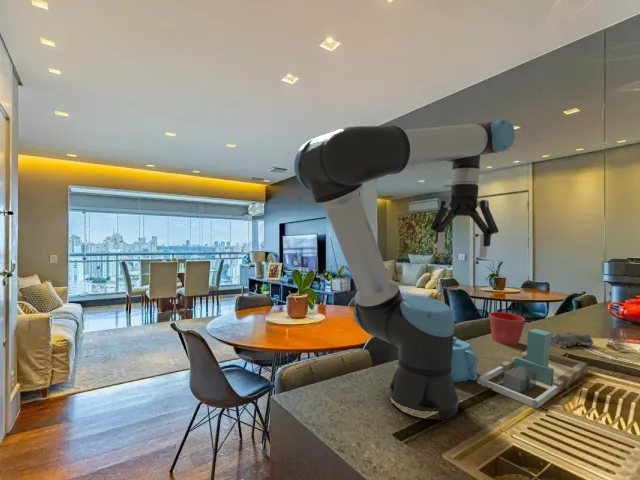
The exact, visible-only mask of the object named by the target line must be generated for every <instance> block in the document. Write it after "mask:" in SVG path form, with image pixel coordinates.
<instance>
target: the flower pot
mask: <svg viewBox="0 0 640 480" xmlns="http://www.w3.org/2000/svg"><path fill="white" fill-rule="evenodd" d="M488 314H489V322H490V332H491V340H492V341H493V342H496V343H498V344H499V343H500V344H502V345H507V346H508V345H509V346H515V345H516V346H517V345H519V342H520V338H521V336H522V333H523V329H524V326H525V322H526V319H525V318H524V317H523V316H520V315H517V314H514V313H509V312H500V311H499V312H493V311H492V312H490V313H488Z"/></svg>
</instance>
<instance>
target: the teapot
mask: <svg viewBox="0 0 640 480" xmlns="http://www.w3.org/2000/svg"><path fill="white" fill-rule="evenodd" d="M478 362H479V360H478V356H477V354H476V353H475V352H474V350H473V348H472V346H471V344H470V343H468V342H466V341H464V340H461V339H459V338H458V337H456V336H454V340H453V354H452V368H451V374H452V378H453V382H454V383H461V382H462V381H463V382H466V381H469V379H470V380H471V381H477V378H478V377H479V376H478V373H477V371H478V369H477V368H478V367H477V366H478Z"/></svg>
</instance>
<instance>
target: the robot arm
mask: <svg viewBox="0 0 640 480" xmlns="http://www.w3.org/2000/svg"><path fill="white" fill-rule="evenodd" d="M515 137H516V136H515V127H514V124H513V123H512V122H511V121H510V120H509V119H506V118H503V119H495V120H492V121H488V122H480V123H469V124H459V125H457V124H456V125H447V126H445V125H444V126H435V127H433V126H432V127H423V128H422V127H421V128H411V129H410V128H409V129H404V128H403V127H401V126H399V125H397V124H396V125H365V126H364V125H363V126H362V125H360V126H357V125H355V126H354V125H353V126H348V127H347V126H346V127H342V128H339V129H337V130H335V131H332V132H329V133H326V134H323V135H319V136H318V137H317V136H315V137H313V138H311V139H310V140H308V141H307V142H305V143H304V144H303V145H302V146H301V147H300V148H299V149H298V151H297V153H296V156H295V158H294V165H293V167H294V173H295V176H296V177H295V178H296V180H297V181H298V183H300V185H302V186H303V187H304V188H305V189H308V190H310V192H311V194H312V196H313V199H314V202H315V204H316V205H318V206H321V207H323V208H324V210H325V211H326V214H327V217H328V220H329V222H330V224H331V227H332V230H333V232H334V234H335V237H336V240H337V242H338V244H339V248H340V250H341V252H342V254H343V256H344V259H345V262H346V264H347V266H348V267H347V268H348V269H349V272H350V275H351V278H352V279H353V282H354V285H355V288H356V290H357V291H356V293H355V295H354V307H353V318H354V320H355V322H356V324H357V325H358V327H359V328H361V329H362V330H363V331H364V332H365V333H367V334H369V335H371V336H372V337H375V338H378V339H380V340H382V341H384V342H386V343H388V344H390V345H393V346H395V347H397V348H398V364H397V366H396V370H395V372H394V375H393V378H392V380H391V382H390V385H389V390H388V391H389V393H388V396H389V395H390V397H391V398H392V399H393V400H394V401H395V402H396V403H398V404H400V405H402V406H405V407H408V408H411V409H415V410H419V411H430V412H431V411H435V412H436V411H438V412H439V415H440V419H439V420H438V421H444V420H449V419H451V418H452V417H453V418H454V417H455V416H456V414H457V413H458V409H459V397H458V395H457V390H456V386H455V382H453V378H452V374H451V368H452V354H453V340H454V337H455V331H456V325H455V314H454V311H453V309H452V308H451V307H450V306H449V305H447V304H446V303H445V302H442V301H440V300H439V299H434V298H433V297H432V298H431V297H425V296H423V295H422V296H421V295H408V296H405V297H403V295H402V292H401V289H400V287H399V284H398V283H397V282H396V281H395V280H392V279H390V277H389V274H388V272H387V269H386V265H385V263H384V261H383V260H384V259H383V257H382V255H381V252H380V249H379V246H378V244H377V240H376V238H375V235H374V232H373V230H372V227H371V224H370V222H369V219H368V215H367V213H366V210H365V207H364V204H363V202H362V199H361V197H360V192H361V190H362V187H363V184H364V183H366V182H370V181H373V180H374V181H375V180H377V179H379V178H383V177H387V176H390V175H396V174H400V173H402V172H403V171H404V170H406V168H407V167H408V168H409V167H414V166H416V167H417V166H421V165H427V164H433V163H434V164H435V163H440V162H449V163H452V168H451V183H452V185H451V186H450V198H451V199H450V201H448V200H441V201H440V207H439V209H438V211H437V213H436V216H435V218H434V219H433V222H432V224H431V226H430V230H432V231H434V232H435V242H436V243H437V248H436V253H437V254H444V253H445V244H446V243H445V242H446V241H445V240H446V232H444V231H445V230H446V228H447V227H448V226H449V225H450V223H451V222H452V221H454V219H455V217H459V216H460V217H461V216H466V217H468V216H469V217H470V218H471V219H472V220H473V221H474V223H475V225H477V227H478V228H479V230H480V231H481V232H482V234H480V236H479V237H480V238H479V253H478V254H479V255H478V258H479V259H486V258H487V255H488V254H487V253H488V247H490V246H491V240H492V239H491V238H492V235H494V234H498V233H499V228H498V226H497V223H496V222H495V219H494V217H493V215H492V212H491V210H490V208H489V206H490V205H489V203H490V202H489V200H485V199H481V200H478V197H479V188H480V187H479V185H478V183H479V182H480V164H481V156H483V155H489V154H498V153H501V152H506V151H508V150H509V149H511V148H512V146H514V145H513V144H514V142H515ZM449 208H451V209H450V210H449ZM477 208H479V209H480V211H481V214H482V216H483V218H482V217H481V216H480V214H479V212H478V211H477V210H476V209H477ZM447 211H448V212H447ZM446 214H447V215H446ZM483 219H484V220H485V221H484V220H483Z"/></svg>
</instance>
